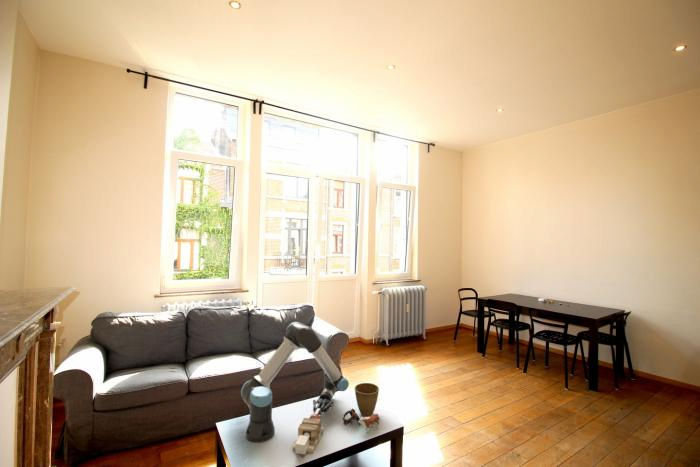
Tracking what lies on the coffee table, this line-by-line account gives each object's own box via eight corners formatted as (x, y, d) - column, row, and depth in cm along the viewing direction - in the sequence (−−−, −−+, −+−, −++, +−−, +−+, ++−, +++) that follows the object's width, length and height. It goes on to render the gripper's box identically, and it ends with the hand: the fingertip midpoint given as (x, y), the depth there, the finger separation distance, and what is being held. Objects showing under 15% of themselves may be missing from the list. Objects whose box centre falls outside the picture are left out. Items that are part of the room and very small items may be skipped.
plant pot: (351, 410, 209) (351, 384, 210) (373, 406, 214) (373, 381, 214) (359, 422, 195) (359, 394, 196) (382, 418, 200) (382, 391, 200)
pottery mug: (361, 429, 189) (355, 418, 187) (346, 435, 190) (340, 424, 189) (361, 413, 201) (355, 402, 199) (347, 418, 202) (341, 408, 200)
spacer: (305, 454, 163) (305, 445, 162) (295, 453, 164) (295, 443, 163) (308, 445, 169) (308, 436, 168) (299, 444, 170) (299, 435, 169)
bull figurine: (357, 431, 186) (357, 416, 186) (376, 424, 193) (376, 410, 193) (361, 435, 182) (362, 420, 182) (381, 428, 189) (381, 413, 190)
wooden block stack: (310, 448, 168) (310, 434, 169) (297, 446, 170) (297, 432, 170) (321, 427, 188) (321, 414, 188) (309, 426, 189) (309, 413, 189)
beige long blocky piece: (313, 453, 166) (313, 436, 166) (292, 450, 168) (292, 433, 168) (323, 431, 186) (323, 416, 186) (304, 428, 188) (305, 414, 188)
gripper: (335, 404, 211) (326, 424, 188) (316, 402, 213) (304, 421, 190) (336, 392, 211) (326, 410, 188) (316, 390, 213) (304, 408, 190)
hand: (315, 416), depth 189 cm, fingers closed
